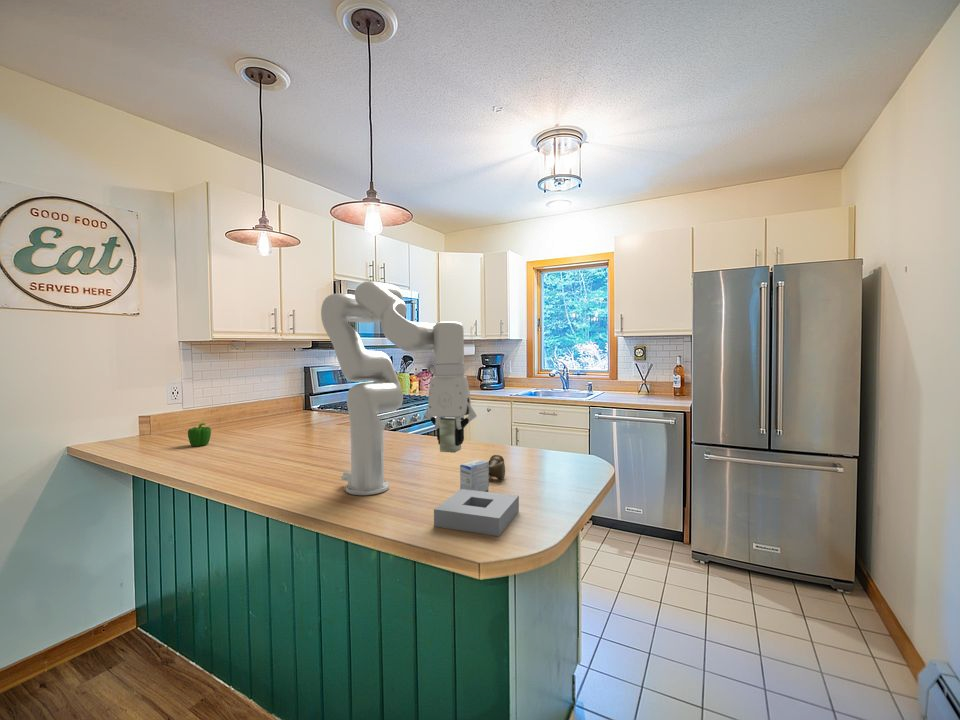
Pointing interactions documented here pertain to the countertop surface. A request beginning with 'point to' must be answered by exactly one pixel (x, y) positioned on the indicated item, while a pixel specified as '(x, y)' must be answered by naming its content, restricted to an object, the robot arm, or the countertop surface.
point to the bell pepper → (199, 435)
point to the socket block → (477, 512)
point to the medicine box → (474, 475)
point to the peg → (448, 435)
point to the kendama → (497, 467)
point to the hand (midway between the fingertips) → (450, 443)
